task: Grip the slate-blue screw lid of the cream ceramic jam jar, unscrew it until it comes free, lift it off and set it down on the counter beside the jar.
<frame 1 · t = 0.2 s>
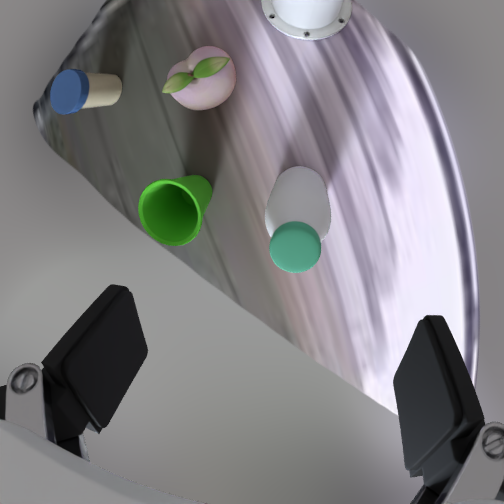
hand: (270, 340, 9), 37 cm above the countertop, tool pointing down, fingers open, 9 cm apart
decorative fruit: (215, 82, 38), on the countertop
milk bottle: (300, 190, 44), on the countertop
jar: (108, 89, 40), on the countertop
cup: (197, 190, 46), on the countertop
jar lid: (66, 91, 31), point 11 cm above the countertop, screwed on, not yet turned
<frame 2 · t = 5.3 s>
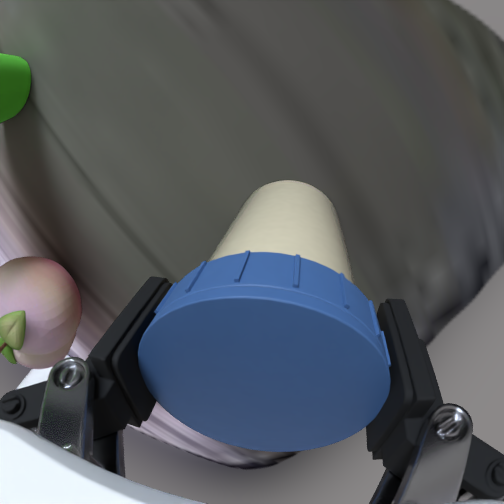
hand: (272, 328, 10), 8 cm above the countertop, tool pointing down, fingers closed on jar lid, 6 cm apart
decorative fruit: (68, 277, 22), on the countertop
jar: (288, 230, 17), on the countertop
cup: (16, 86, 15), on the countertop
jar lid: (261, 389, 7), point 11 cm above the countertop, screwed on, not yet turned, touching gripper
when the fingers open (7 cm above the countertop, at t = 7.8 s): jar lid stays where it is, point 11 cm above the countertop.
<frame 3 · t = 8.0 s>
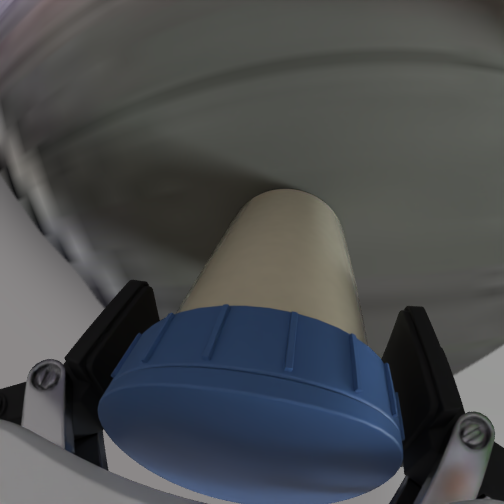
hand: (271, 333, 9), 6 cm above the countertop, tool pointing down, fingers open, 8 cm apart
jar: (286, 245, 15), on the countertop
jar lid: (245, 459, 5), point 11 cm above the countertop, turned 117° so far, risen 0.2 cm, still on its thread
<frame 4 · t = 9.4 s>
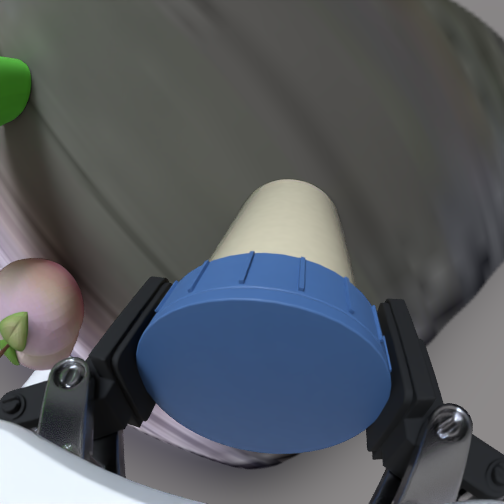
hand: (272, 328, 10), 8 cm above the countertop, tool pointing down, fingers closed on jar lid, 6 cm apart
decorative fruit: (70, 278, 22), on the countertop
jar: (289, 229, 17), on the countertop
cup: (16, 89, 15), on the countertop
jar lid: (260, 391, 7), point 11 cm above the countertop, turned 117° so far, risen 0.2 cm, still on its thread, touching gripper
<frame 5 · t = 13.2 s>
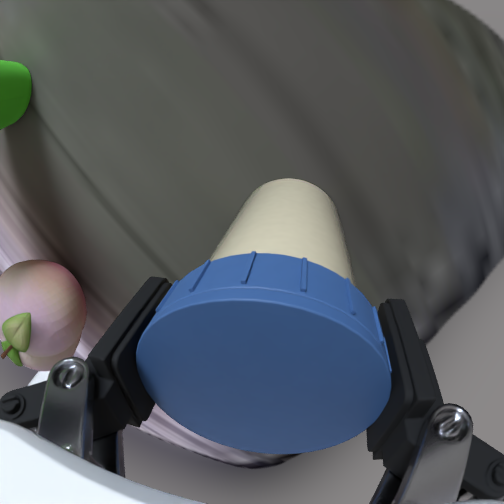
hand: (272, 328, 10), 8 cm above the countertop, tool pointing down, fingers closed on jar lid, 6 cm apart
decorative fruit: (73, 279, 23), on the countertop
jar: (289, 228, 17), on the countertop
cup: (17, 92, 15), on the countertop
jar lid: (260, 391, 7), point 11 cm above the countertop, turned 236° so far, risen 0.4 cm, still on its thread, touching gripper
when the fingers open (0 cm above the countertop, at t = 23.6 s): jar lid drops 1 cm, point 1 cm above the countertop.
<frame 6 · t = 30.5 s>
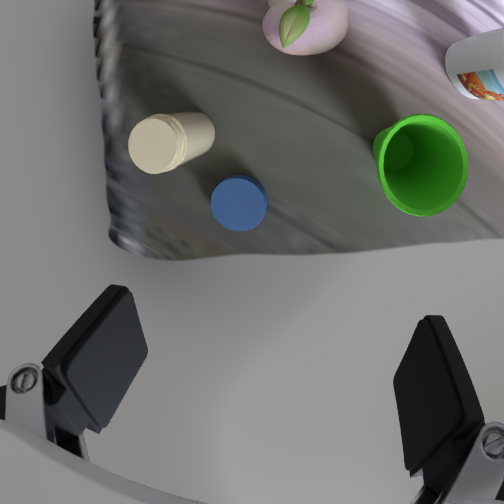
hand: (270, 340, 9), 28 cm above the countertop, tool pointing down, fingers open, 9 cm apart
decorative fruit: (307, 28, 26), on the countertop
milk bottle: (467, 70, 23), on the countertop
jar: (192, 134, 34), on the countertop
cup: (392, 148, 31), on the countertop
jar lid: (238, 204, 36), point 1 cm above the countertop, off its thread
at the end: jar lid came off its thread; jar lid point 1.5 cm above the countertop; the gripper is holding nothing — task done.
